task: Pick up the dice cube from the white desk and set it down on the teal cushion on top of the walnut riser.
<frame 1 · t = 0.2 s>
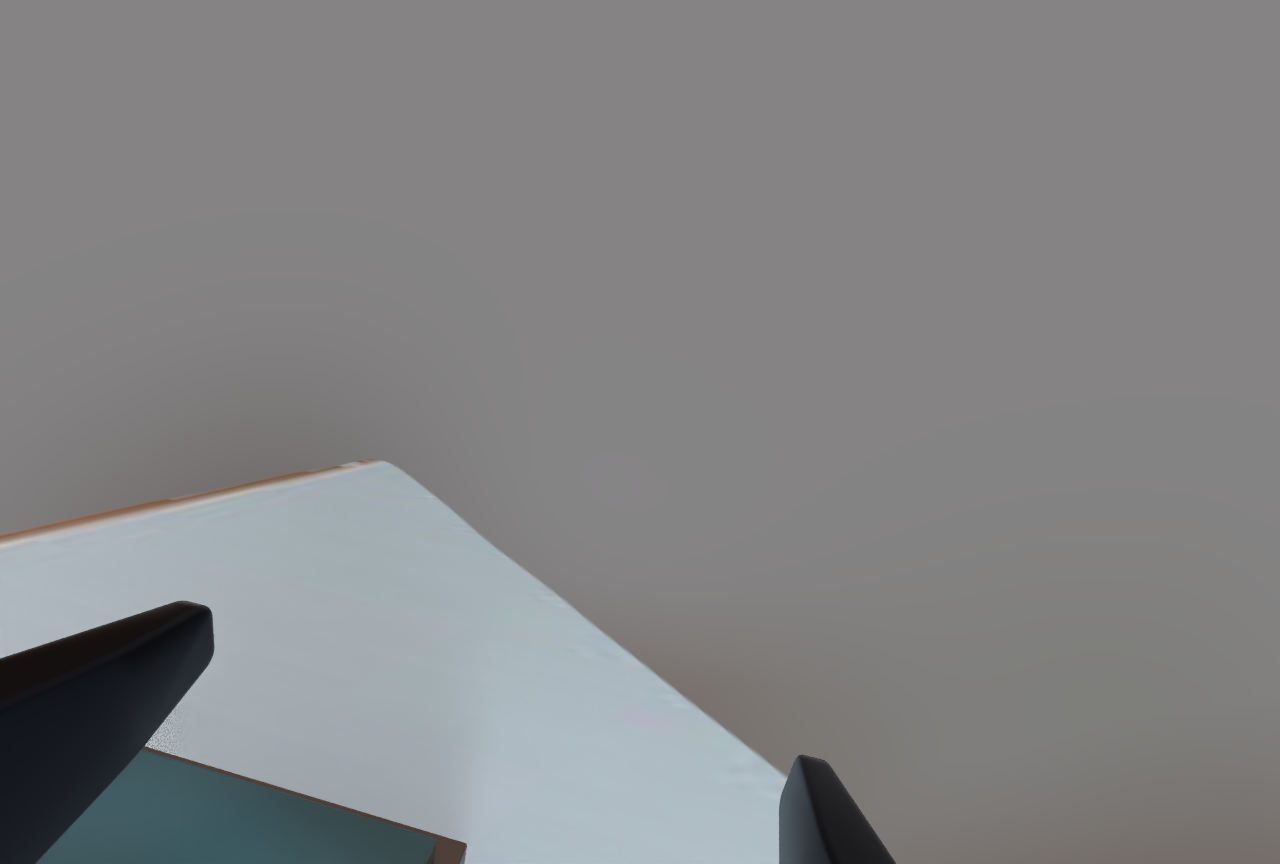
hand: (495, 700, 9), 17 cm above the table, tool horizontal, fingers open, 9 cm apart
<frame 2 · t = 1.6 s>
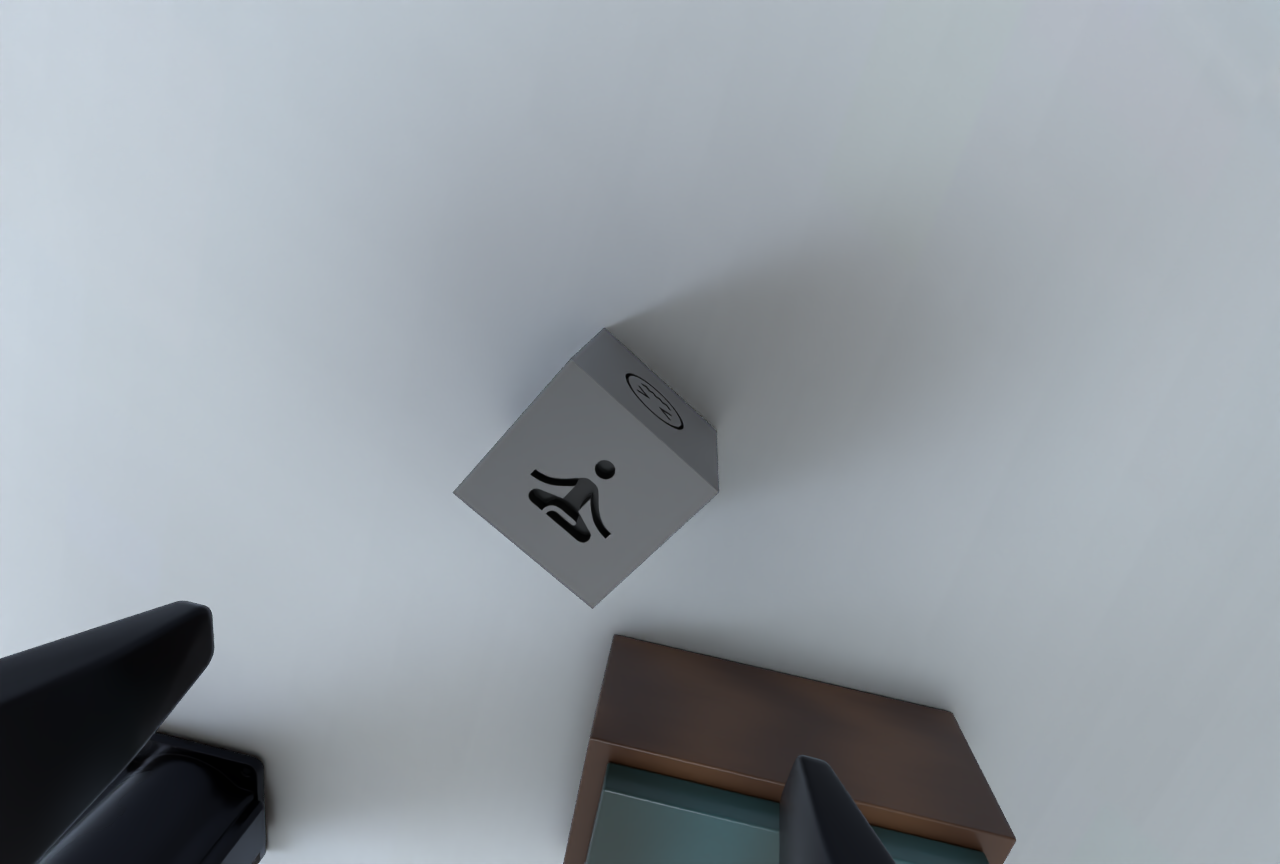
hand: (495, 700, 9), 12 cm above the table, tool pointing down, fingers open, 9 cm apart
riser: (742, 787, 25), on the table
dice cube: (612, 430, 20), on the table
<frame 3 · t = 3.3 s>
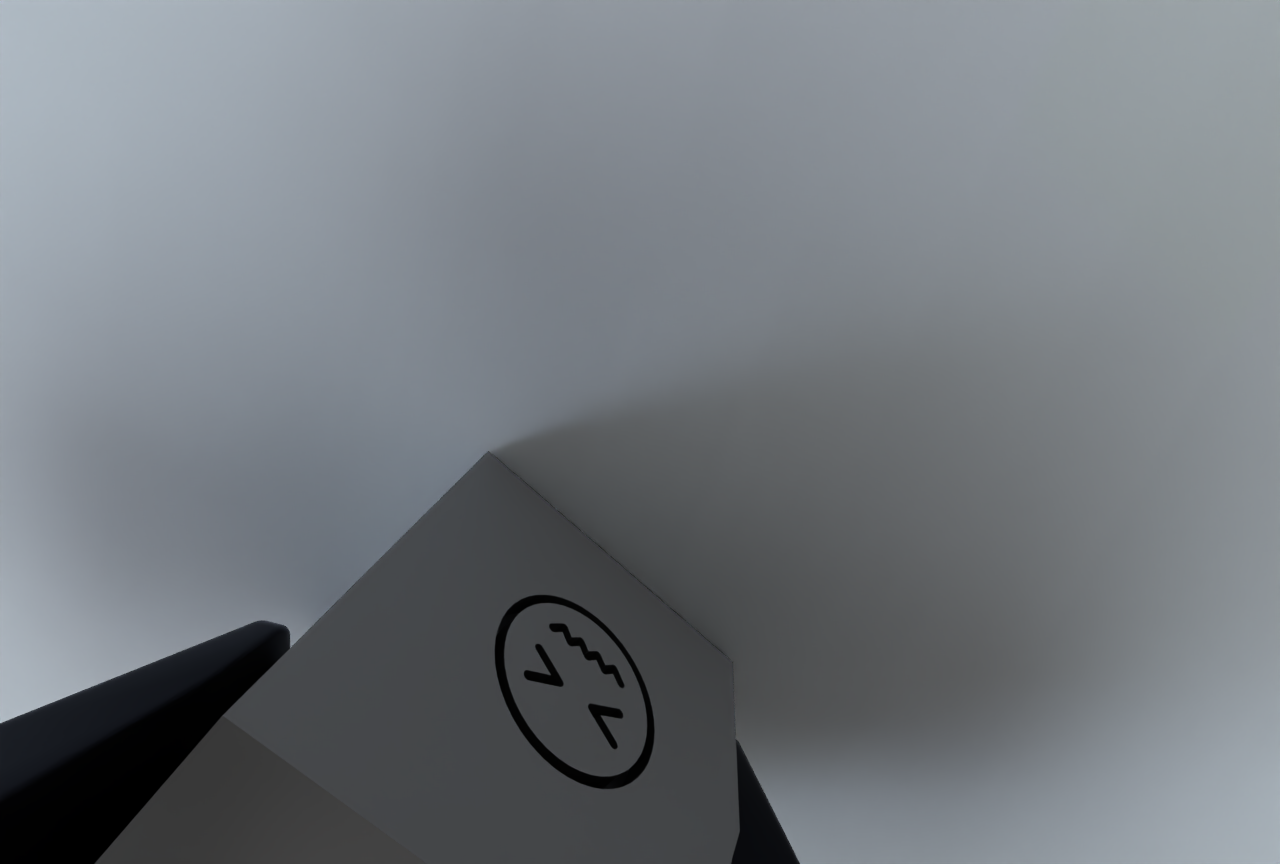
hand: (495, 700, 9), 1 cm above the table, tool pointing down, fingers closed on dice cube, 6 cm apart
dice cube: (518, 644, 10), on the table, touching gripper
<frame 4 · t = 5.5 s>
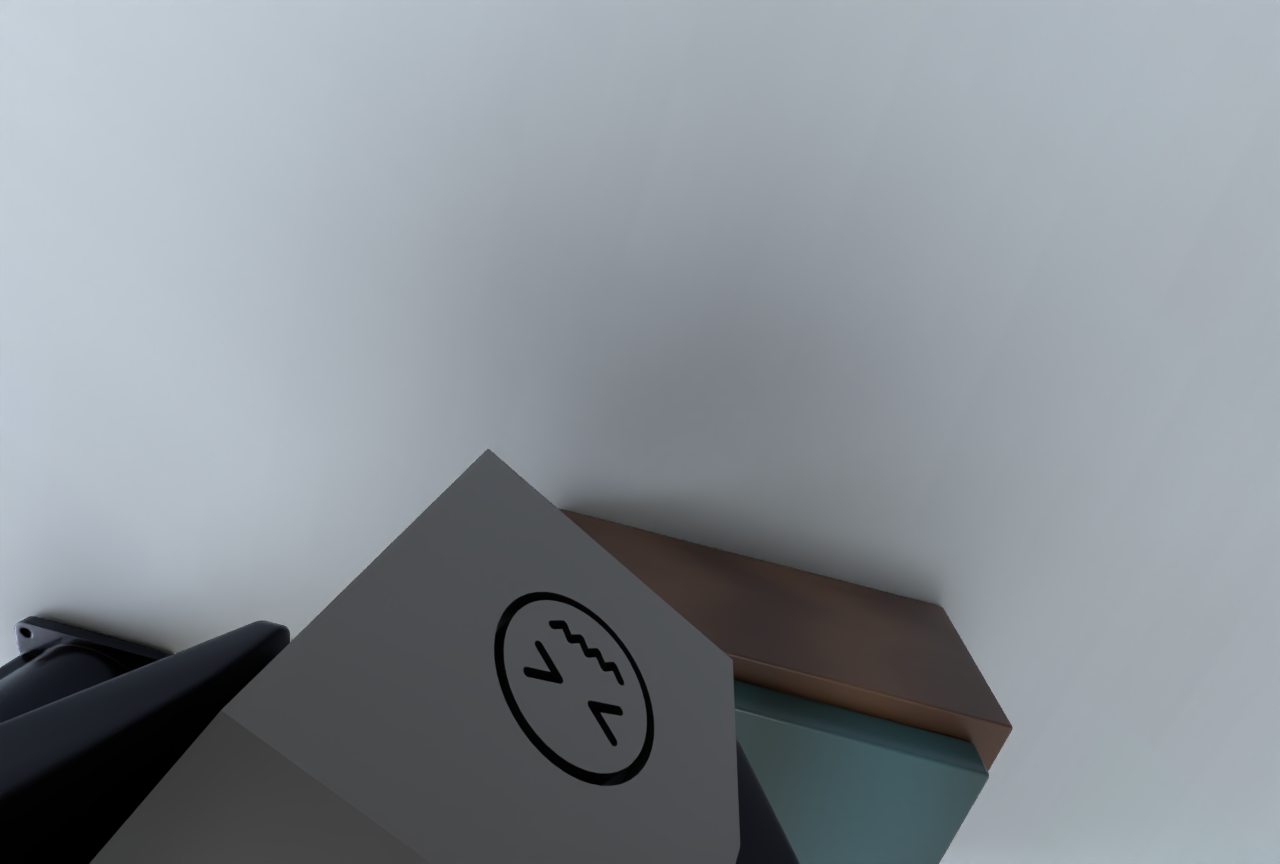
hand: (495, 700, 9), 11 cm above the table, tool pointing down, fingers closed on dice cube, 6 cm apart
riser: (702, 694, 22), on the table
dice cube: (518, 642, 10), point 10 cm above the table, touching gripper
when the fingers open (7 cm above the table, at t = 7.8 s): dice cube stays where it is, resting on riser.
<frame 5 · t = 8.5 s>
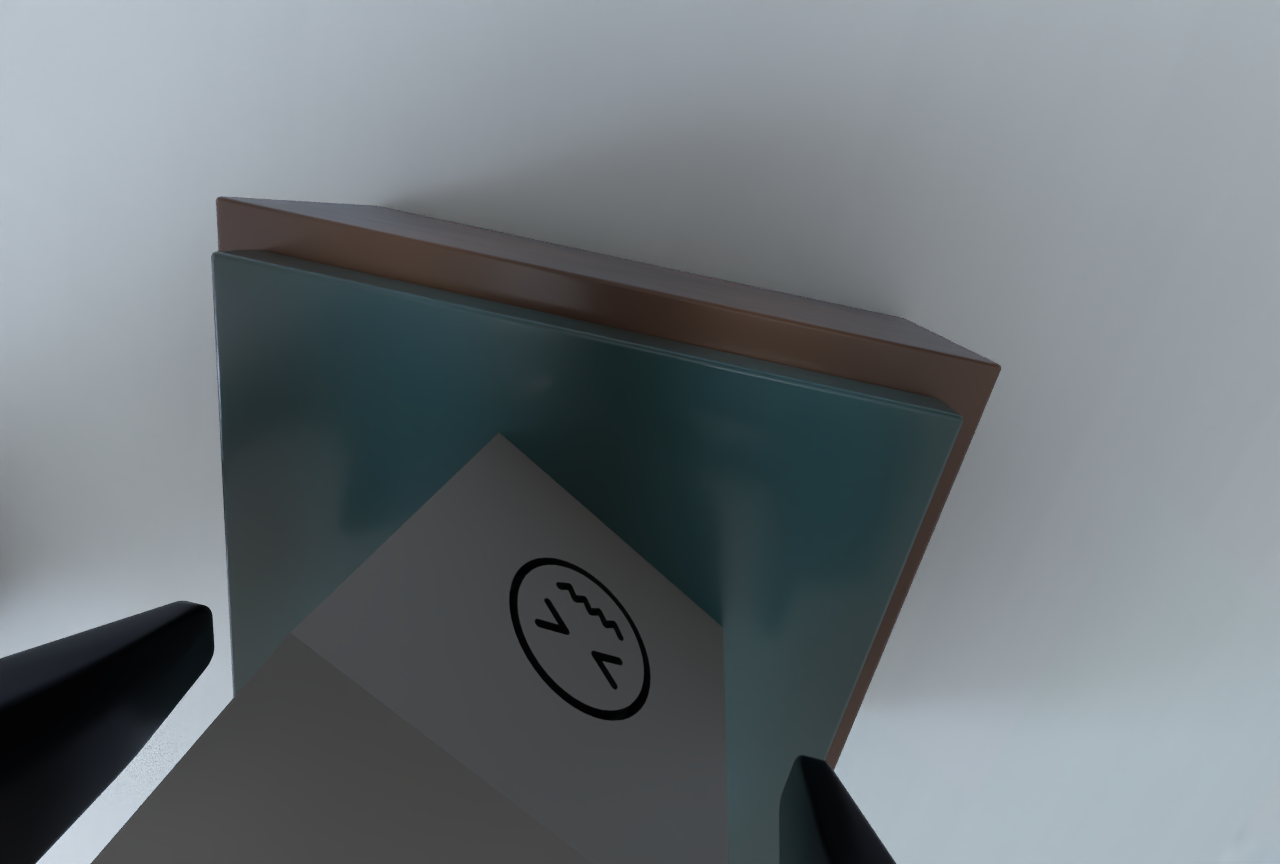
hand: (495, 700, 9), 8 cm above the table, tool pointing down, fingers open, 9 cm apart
riser: (593, 485, 16), on the table
dice cube: (526, 613, 11), point 6 cm above the table, touching riser
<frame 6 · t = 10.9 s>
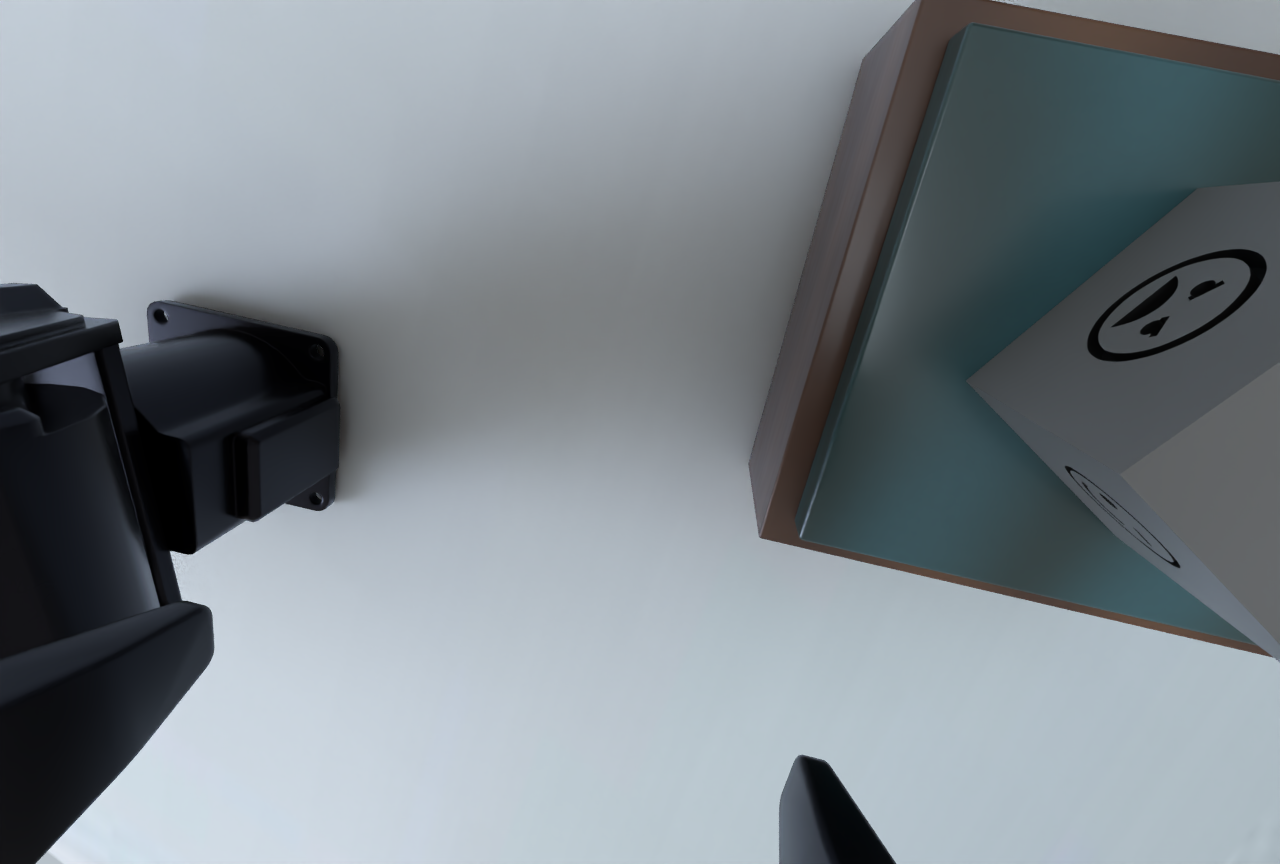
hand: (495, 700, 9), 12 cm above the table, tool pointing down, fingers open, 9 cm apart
riser: (1016, 330, 18), on the table
dice cube: (1146, 376, 12), point 6 cm above the table, touching riser
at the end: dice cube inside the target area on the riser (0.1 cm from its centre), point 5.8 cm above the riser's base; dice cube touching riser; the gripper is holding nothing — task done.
